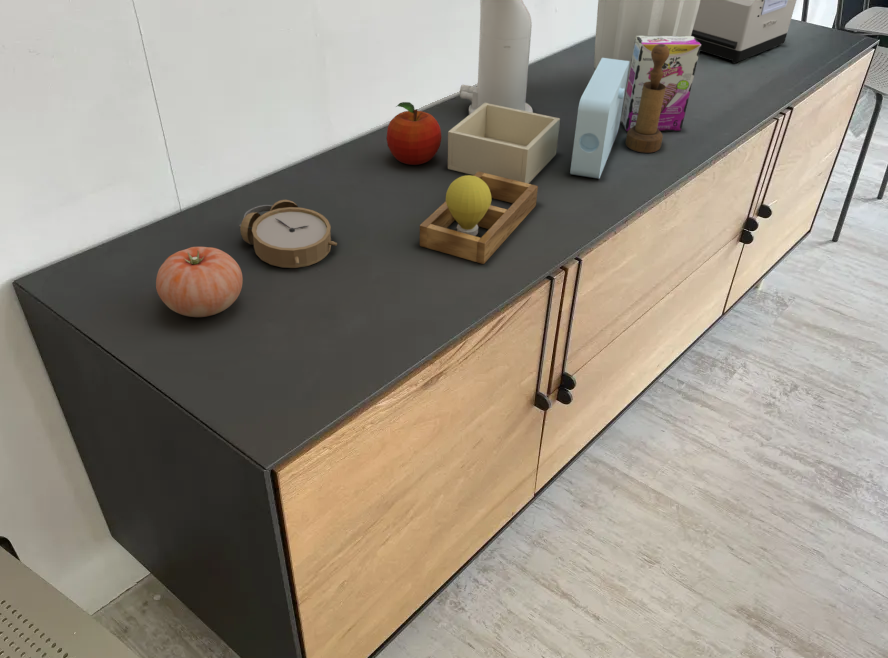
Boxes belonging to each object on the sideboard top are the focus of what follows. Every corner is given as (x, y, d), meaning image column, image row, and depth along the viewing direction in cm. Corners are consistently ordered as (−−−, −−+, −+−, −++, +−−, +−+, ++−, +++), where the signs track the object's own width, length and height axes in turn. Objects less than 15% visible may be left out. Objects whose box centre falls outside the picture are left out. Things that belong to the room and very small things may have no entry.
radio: (603, 182, 133) (615, 106, 124) (569, 177, 134) (579, 101, 125) (623, 130, 150) (635, 59, 141) (593, 125, 151) (603, 55, 142)
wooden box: (447, 169, 136) (448, 131, 131) (483, 138, 146) (484, 102, 141) (524, 188, 131) (528, 149, 126) (556, 154, 141) (560, 118, 136)
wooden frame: (419, 246, 116) (419, 225, 114) (477, 190, 130) (478, 171, 128) (483, 264, 113) (484, 243, 110) (536, 205, 126) (538, 185, 124)
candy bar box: (625, 132, 149) (641, 43, 138) (619, 122, 153) (634, 34, 142) (683, 131, 150) (702, 43, 139) (675, 121, 153) (694, 34, 143)
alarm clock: (286, 261, 107) (220, 206, 113) (286, 288, 111) (222, 234, 116) (348, 231, 113) (282, 181, 119) (346, 257, 117) (282, 207, 123)
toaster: (735, 66, 178) (756, -16, 166) (646, 39, 191) (660, -39, 180) (788, 45, 190) (810, -34, 178) (700, 20, 204) (716, -54, 192)
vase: (698, 106, 159) (732, -42, 141) (616, 119, 154) (640, -34, 136) (646, 74, 173) (672, -65, 155) (569, 84, 167) (586, -59, 149)
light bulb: (451, 252, 115) (453, 191, 108) (440, 230, 120) (440, 169, 113) (494, 247, 116) (498, 185, 110) (481, 225, 121) (484, 165, 115)
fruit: (426, 176, 133) (426, 119, 127) (377, 165, 136) (375, 109, 130) (450, 154, 140) (451, 99, 134) (403, 144, 143) (401, 90, 136)
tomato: (148, 324, 100) (133, 272, 95) (185, 279, 108) (172, 228, 103) (227, 335, 99) (216, 282, 94) (259, 288, 107) (250, 237, 102)
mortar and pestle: (660, 154, 142) (681, 53, 130) (624, 151, 143) (642, 49, 131) (660, 139, 147) (680, 40, 135) (625, 136, 148) (642, 37, 136)
